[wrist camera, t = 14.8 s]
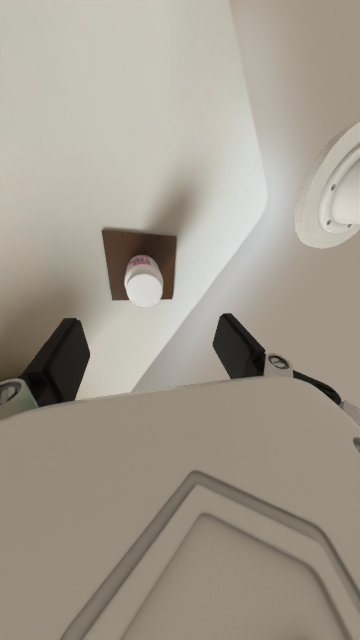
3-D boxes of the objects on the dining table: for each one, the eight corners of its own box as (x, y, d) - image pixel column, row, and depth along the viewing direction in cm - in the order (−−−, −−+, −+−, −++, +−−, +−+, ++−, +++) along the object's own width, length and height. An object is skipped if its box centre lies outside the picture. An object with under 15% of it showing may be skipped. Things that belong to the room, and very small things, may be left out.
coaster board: (175, 236, 23) (176, 236, 23) (171, 298, 28) (172, 299, 28) (102, 230, 21) (101, 230, 20) (112, 299, 26) (112, 300, 26)
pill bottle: (146, 247, 23) (150, 260, 16) (164, 274, 25) (174, 296, 19) (119, 265, 23) (112, 286, 16) (139, 290, 26) (141, 317, 19)
